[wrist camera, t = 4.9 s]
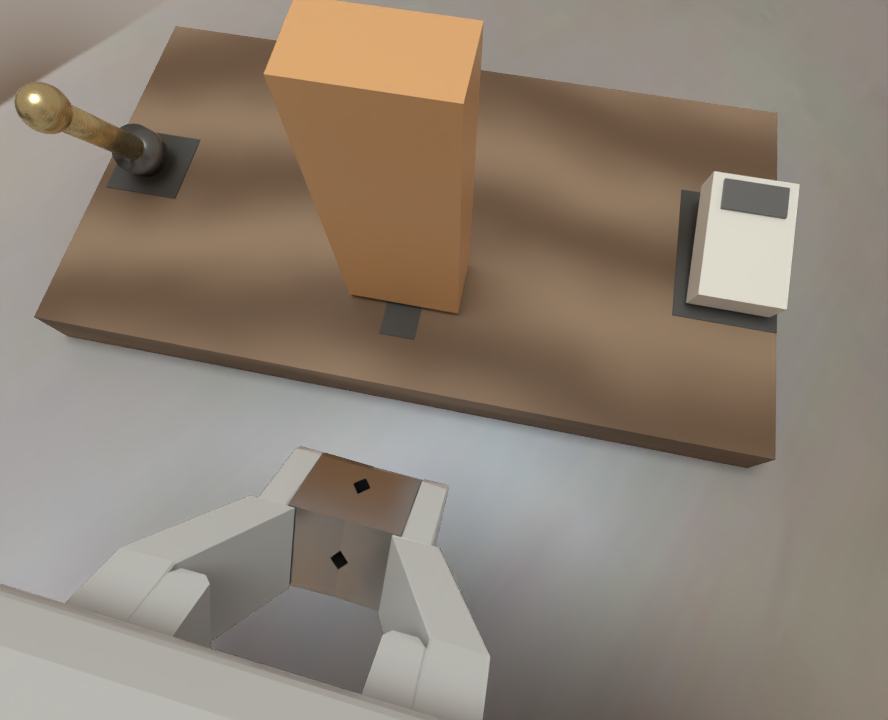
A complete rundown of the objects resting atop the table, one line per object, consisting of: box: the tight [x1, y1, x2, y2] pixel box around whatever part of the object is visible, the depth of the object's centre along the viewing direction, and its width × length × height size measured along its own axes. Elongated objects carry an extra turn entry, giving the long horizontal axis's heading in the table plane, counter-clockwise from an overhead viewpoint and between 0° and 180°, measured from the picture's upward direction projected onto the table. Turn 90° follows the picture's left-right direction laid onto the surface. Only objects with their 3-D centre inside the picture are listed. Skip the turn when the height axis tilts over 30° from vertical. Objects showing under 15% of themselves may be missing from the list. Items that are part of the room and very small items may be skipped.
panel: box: [34, 26, 777, 468], centre depth 25 cm, size 16×29×2 cm, turn 78°
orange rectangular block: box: [264, 0, 484, 314], centre depth 17 cm, size 2×4×11 cm, turn 78°
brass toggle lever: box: [15, 82, 168, 177], centre depth 21 cm, size 2×2×6 cm
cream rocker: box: [686, 171, 800, 317], centre depth 21 cm, size 5×3×1 cm, turn 169°
